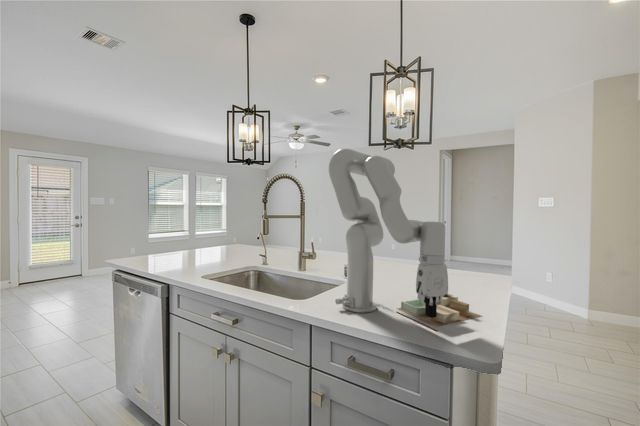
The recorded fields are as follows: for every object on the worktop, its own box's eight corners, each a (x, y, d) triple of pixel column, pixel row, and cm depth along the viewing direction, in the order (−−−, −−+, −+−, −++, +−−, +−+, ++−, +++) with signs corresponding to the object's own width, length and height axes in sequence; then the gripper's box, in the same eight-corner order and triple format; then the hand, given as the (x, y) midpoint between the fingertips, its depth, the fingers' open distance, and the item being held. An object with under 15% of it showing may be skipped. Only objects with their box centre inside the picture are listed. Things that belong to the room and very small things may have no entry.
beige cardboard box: (444, 323, 95) (444, 315, 95) (424, 314, 102) (424, 307, 102) (459, 319, 98) (459, 312, 98) (439, 311, 105) (439, 304, 105)
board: (436, 331, 92) (436, 313, 92) (396, 312, 108) (396, 297, 108) (482, 320, 102) (483, 304, 102) (439, 304, 118) (440, 290, 118)
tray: (417, 315, 101) (417, 308, 101) (401, 308, 107) (401, 301, 107) (436, 312, 105) (436, 304, 105) (420, 305, 112) (420, 298, 112)
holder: (444, 310, 107) (444, 299, 107) (428, 304, 113) (429, 293, 113) (457, 307, 110) (458, 296, 110) (442, 302, 116) (442, 291, 116)
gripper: (423, 263, 90) (422, 323, 91) (458, 260, 97) (456, 316, 97) (406, 259, 97) (404, 315, 97) (439, 256, 104) (438, 309, 104)
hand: (430, 316), depth 97 cm, fingers closed
